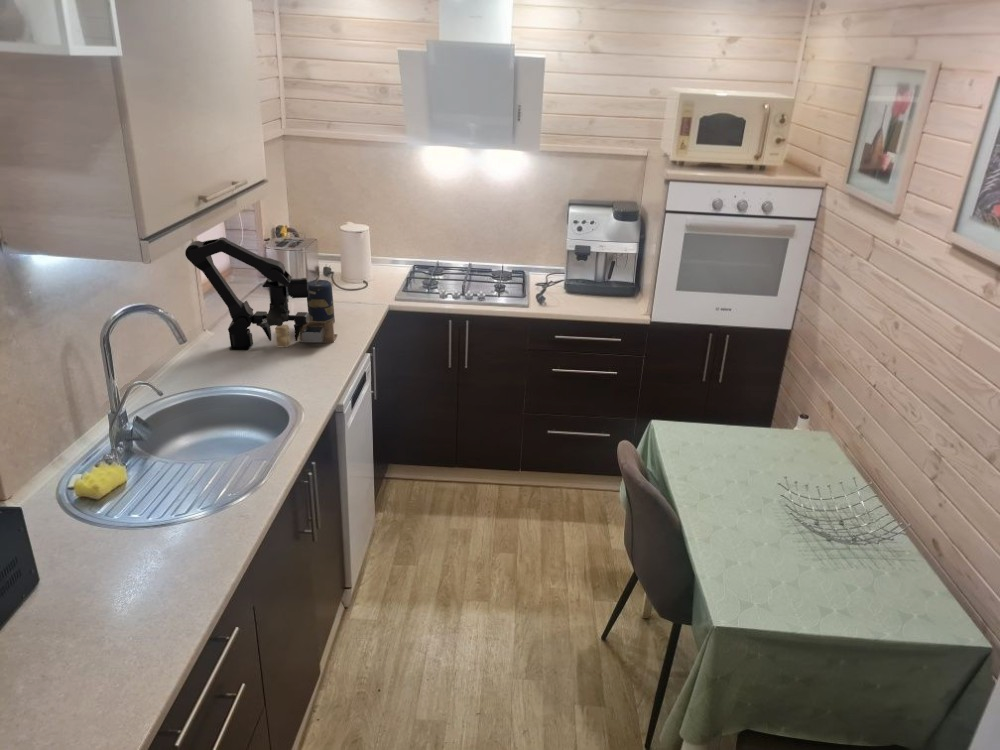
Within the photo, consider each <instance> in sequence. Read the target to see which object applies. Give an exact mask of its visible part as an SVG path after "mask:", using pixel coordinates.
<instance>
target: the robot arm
mask: <svg viewBox="0 0 1000 750" xmlns="http://www.w3.org/2000/svg"><path fill="white" fill-rule="evenodd" d="M184 253H185V257H186V259H187V260H188V261H189V262H190V263H191V264H192V265H193V266H194V267H196V268H197V269H198V270H200V271H201V272H202V273H203V275H204V276H205V277H206V278H207V280H208V281H209V283H210V284H211V286H212V287H213V288H214V290H215V292H217V294H218V295H219V297H220V298H221V300H222V301H223V303H224V304H225V305H226V307H227V310H228V312H229V315H230V318H231V320H232V321H231V322H230V324H229V326H228V328H227V331H228V335H229V341H230V342H229V343H230V347H229V348H228V349H229V350H230V351H231V350H233V351H234V350H235V351H249V349H250V348H251V347H253V345H254V340H253V333H251V329H250V328H249V327H250V326H251V325H255V326H256V327H260V328H262V330H263V331H264V333H265V335H266V337H267V339H268V341H269V342H272V330H271V329H272V328H271V327H273V326H274V327H276V326H281V325H284V323H285V322H290V321H291V322H293V321H294V324H293V328H294V342H297V341H298V339H299V336H300V333H299V332H300V329H301V327H302V326H303V325H305V324H307V323H308V321H309V320H310V316H309V314H308V311H307V312H305V311H297V313H296V314H290V309H289V298H288V296H289V297H290V298H292V299H307V298H309V285H308V282H309V281H308V278H307V277H301V278H293V276H291V274H290V273H289V272H288V271H287V270H286V266H285V264H284V263H283V262H281V261H279V260H277V259H273V258H271V257H264V256H260V255H259V254H256V253H255V252H253V251H251V250H249V249H246V248H245V247H242V246H240V245H238V244H237V243H235V242H233V241H231V240H229V239H227V238H226V237H224V236H222V237H221V236H220V237H218V238H215V239H208V240H205V241H201V240H194V241H192V242H190V244H189V245H188V246H187V247H186V249H185V252H184ZM219 253H223V254H226V255H228V256H230V257H232V258H234V259H235V260H237V261H240V262H242V263H244V264H246V265H247V266H250V267H252V268H254V269H255V270H257V271H258V272H259V273H260V274H261V275H262V276H263V277H264V278H266V280H265V281H264V282H263V283H262V288H268V292H269V293H268V294H269V299H270V300H269V310H268V311H262V310H261V311H256V312H255V313H254V312H253V311H254V308H252V307H251V306H250V304H249V302H248V300H245V301H242V300H240V299H239V298H238V297H237V294H235V292H234V291H233V289H232V288H231V286H230V285H229V283H228V282H227V281H226V279H225V278H224V276H223V275H222V273H220V270H219V269H218V267H217V266H216V265H215V263H214V261H213V257H212V256H213V255H216V254H219Z"/></svg>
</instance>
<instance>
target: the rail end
mask: <svg viewBox="0 0 1000 750" xmlns="http://www.w3.org/2000/svg"><path fill="white" fill-rule="evenodd" d="M274 329H275V339H276V347H277V346H288V345H289V346H290V344H291V336H290V328H289V324H282V325H281V326H275V327H274ZM289 343H290V344H289ZM289 346H288V347H289Z"/></svg>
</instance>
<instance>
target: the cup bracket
mask: <svg viewBox="0 0 1000 750" xmlns="http://www.w3.org/2000/svg"><path fill="white" fill-rule="evenodd" d="M337 338H338V334H337V333H335V325H334V324H333V321H308V323H307V324H305V325H303V326H302V327H301V329H300V332H299V341H303V342H302V343H335V342H336V340H337ZM334 341H335V342H334Z"/></svg>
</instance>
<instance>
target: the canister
mask: <svg viewBox="0 0 1000 750" xmlns="http://www.w3.org/2000/svg"><path fill="white" fill-rule="evenodd" d="M307 282H308V285H309V298H306V302H307V312H308V314H309V316H310V320H309V321H333V325H334V324H335V323H336V319H335V317H336V316H335V306H334V305H335V304H334V295H333V284H332V283H331V281H329V280H325V279H321V278H320V279H314V280H309V281H307Z"/></svg>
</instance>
